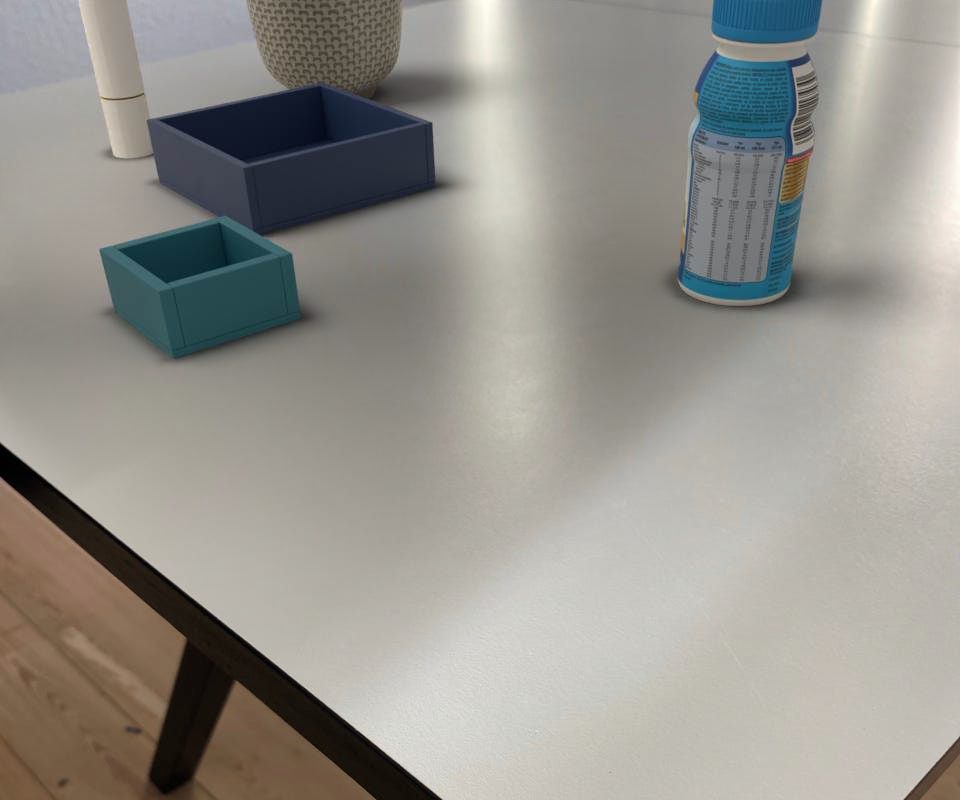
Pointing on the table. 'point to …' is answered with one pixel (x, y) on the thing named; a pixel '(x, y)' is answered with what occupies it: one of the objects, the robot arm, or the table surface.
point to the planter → (328, 41)
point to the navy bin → (293, 156)
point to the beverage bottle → (749, 152)
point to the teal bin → (201, 285)
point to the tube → (118, 76)
